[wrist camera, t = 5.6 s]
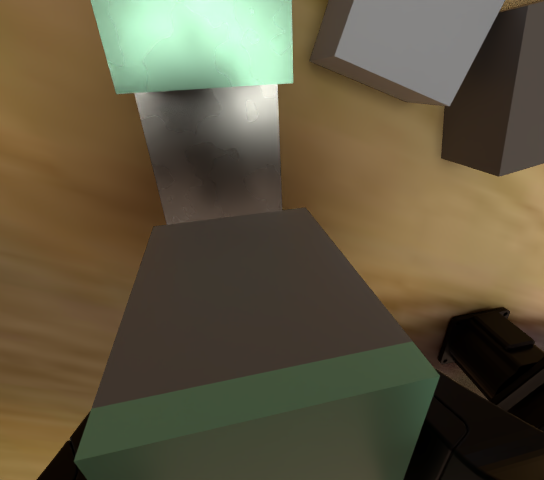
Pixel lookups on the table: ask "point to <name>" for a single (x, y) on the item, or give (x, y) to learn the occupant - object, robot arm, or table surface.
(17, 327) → the table surface
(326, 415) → the block
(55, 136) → the table surface
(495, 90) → the loose grey block
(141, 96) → the rail
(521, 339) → the robot arm
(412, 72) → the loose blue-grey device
